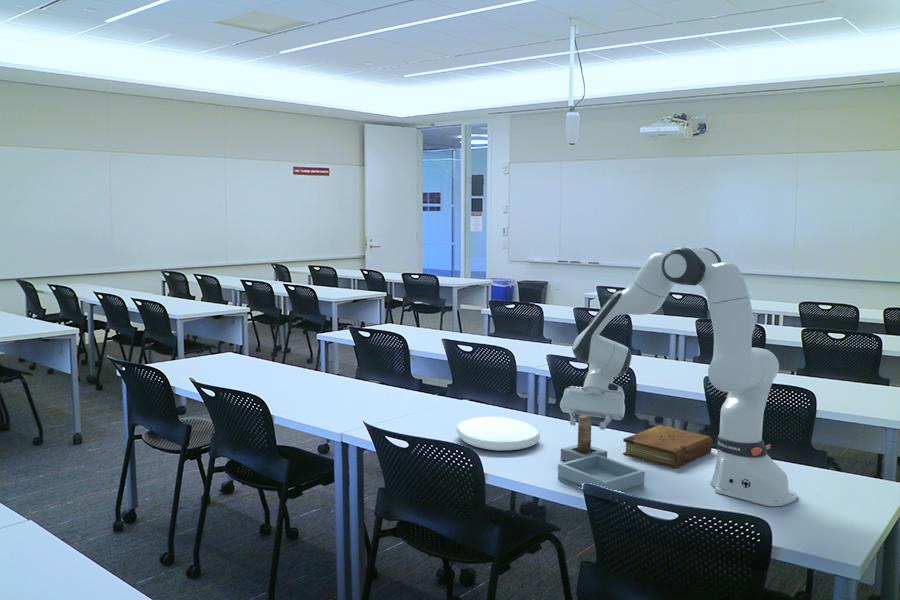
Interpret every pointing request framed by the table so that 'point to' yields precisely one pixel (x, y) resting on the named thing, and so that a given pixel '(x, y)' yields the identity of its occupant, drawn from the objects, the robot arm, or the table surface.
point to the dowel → (584, 434)
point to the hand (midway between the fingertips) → (587, 426)
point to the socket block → (572, 453)
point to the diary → (667, 446)
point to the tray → (601, 473)
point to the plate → (497, 433)
